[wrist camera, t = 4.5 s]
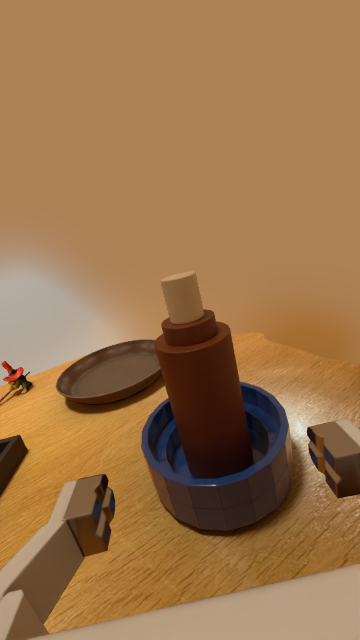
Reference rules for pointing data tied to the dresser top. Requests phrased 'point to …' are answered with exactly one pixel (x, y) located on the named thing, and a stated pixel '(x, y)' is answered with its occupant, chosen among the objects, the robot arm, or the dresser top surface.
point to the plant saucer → (111, 373)
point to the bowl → (230, 491)
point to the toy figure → (15, 379)
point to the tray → (10, 458)
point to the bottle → (202, 383)
